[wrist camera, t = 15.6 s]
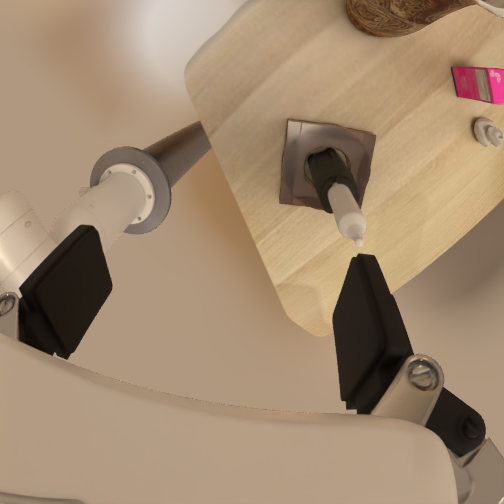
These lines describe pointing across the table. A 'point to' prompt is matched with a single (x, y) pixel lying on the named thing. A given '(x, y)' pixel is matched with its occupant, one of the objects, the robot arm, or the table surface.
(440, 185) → the table surface
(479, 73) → the supplement box
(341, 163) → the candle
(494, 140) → the white animal figurine
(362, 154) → the hole plate
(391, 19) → the vase
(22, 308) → the robot arm
